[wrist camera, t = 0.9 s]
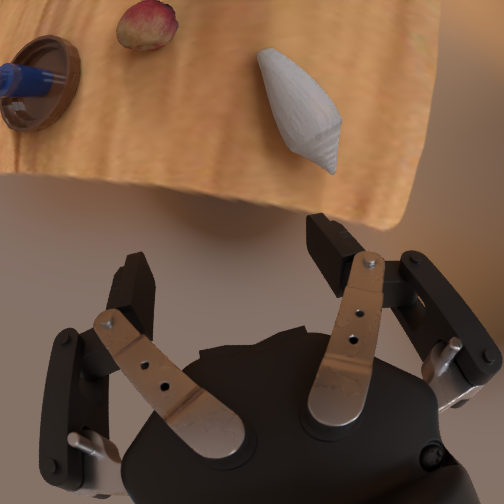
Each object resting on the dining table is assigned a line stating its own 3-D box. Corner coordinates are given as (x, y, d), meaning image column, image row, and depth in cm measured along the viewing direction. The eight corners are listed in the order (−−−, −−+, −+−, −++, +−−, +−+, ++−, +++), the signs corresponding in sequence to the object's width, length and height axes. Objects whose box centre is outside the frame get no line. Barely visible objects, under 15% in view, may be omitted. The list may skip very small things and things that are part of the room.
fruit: (118, 47, 26) (95, 33, 19) (150, 6, 24) (134, -16, 17) (160, 66, 29) (144, 52, 22) (193, 24, 26) (186, 1, 19)
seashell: (278, 115, 40) (321, 185, 34) (225, 83, 32) (263, 156, 26) (317, 81, 35) (372, 146, 29) (268, 39, 27) (328, 99, 21)
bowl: (15, 62, 22) (1, 60, 19) (84, 26, 23) (72, 19, 20) (16, 141, 29) (1, 144, 26) (84, 113, 30) (71, 113, 26)
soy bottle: (31, 75, 24) (-31, 71, 11) (53, 64, 25) (-9, 53, 11) (31, 102, 26) (-33, 106, 13) (53, 92, 27) (-12, 89, 13)
